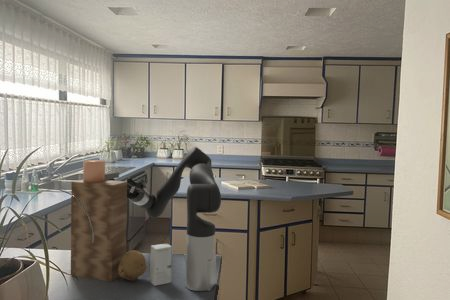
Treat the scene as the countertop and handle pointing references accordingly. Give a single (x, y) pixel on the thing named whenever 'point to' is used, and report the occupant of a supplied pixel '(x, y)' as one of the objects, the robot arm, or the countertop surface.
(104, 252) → the stand
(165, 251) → the skincare box
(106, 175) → the peach cylinder
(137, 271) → the natural sponge
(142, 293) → the countertop surface
